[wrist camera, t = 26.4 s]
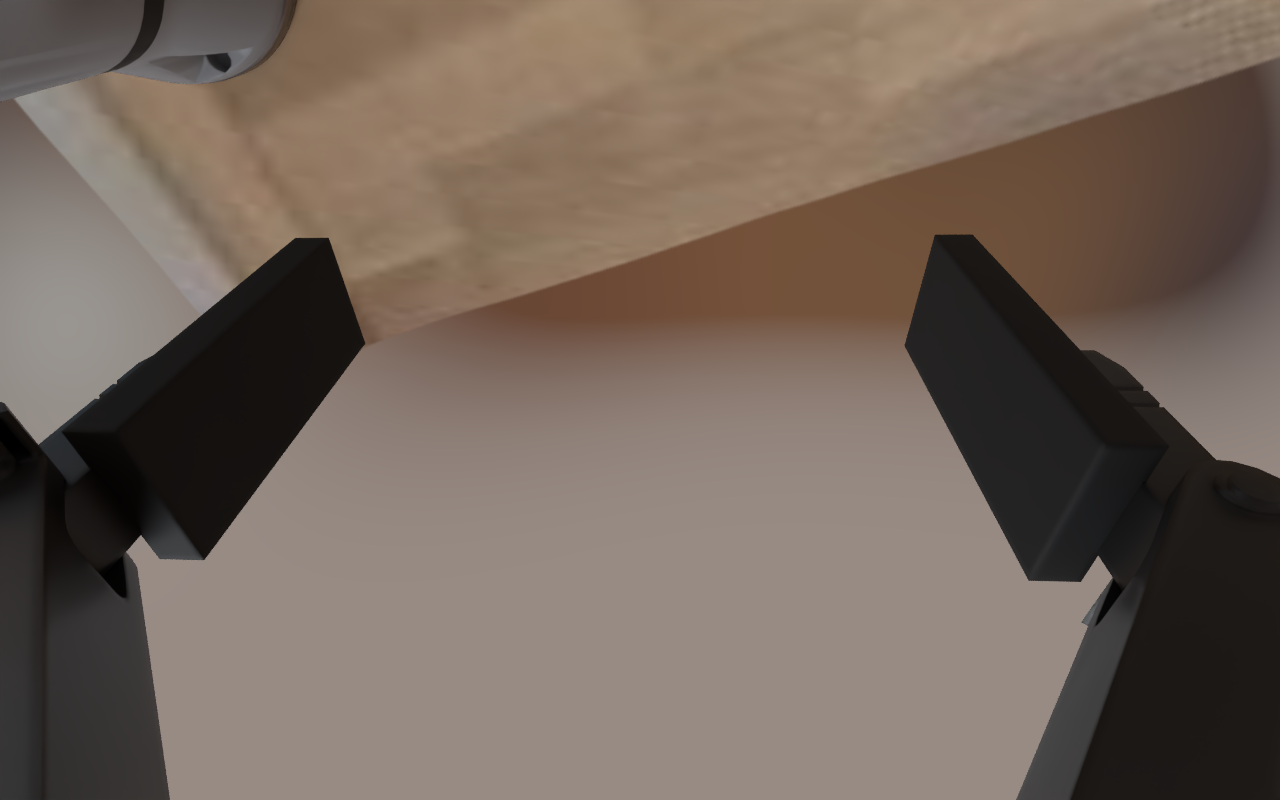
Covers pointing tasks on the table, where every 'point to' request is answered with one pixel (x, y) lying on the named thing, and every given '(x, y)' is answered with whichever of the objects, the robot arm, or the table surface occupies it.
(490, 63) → the table surface
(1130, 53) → the table surface
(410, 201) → the table surface
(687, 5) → the table surface
